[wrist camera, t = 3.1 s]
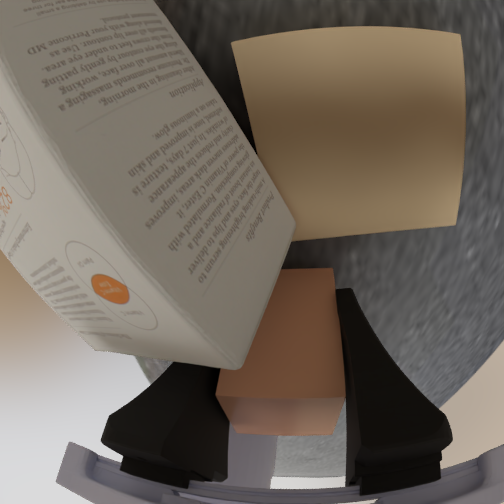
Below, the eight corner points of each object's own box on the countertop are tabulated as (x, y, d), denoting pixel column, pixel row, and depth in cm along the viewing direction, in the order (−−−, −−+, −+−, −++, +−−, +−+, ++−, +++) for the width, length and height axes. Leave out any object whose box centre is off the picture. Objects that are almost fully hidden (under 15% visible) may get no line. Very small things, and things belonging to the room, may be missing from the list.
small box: (38, 98, 10) (157, 263, 15) (-58, 160, 6) (95, 353, 11) (137, -32, 5) (303, 226, 10) (-30, -12, 1) (247, 376, 6)
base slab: (436, 199, 11) (455, 225, 9) (278, 214, 12) (276, 242, 11) (433, 34, 7) (460, 34, 5) (241, 44, 8) (230, 41, 7)
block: (327, 326, 15) (332, 434, 10) (252, 326, 16) (236, 433, 11) (332, 267, 13) (345, 396, 8) (241, 270, 13) (215, 394, 9)
